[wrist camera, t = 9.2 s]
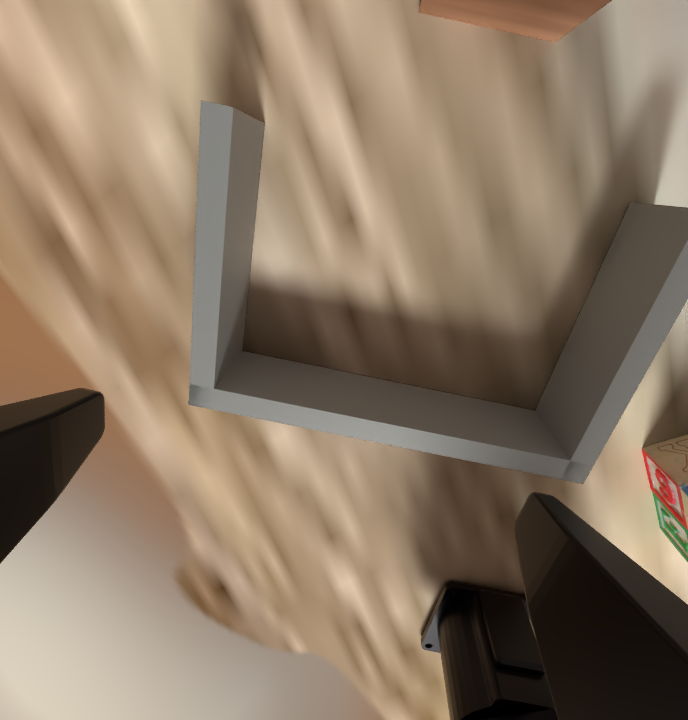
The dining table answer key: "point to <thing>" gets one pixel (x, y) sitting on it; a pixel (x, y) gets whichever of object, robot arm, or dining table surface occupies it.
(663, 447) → the stack of blocks
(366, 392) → the open-fronted box
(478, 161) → the dining table surface
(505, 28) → the terracotta block
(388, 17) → the dining table surface
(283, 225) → the dining table surface
